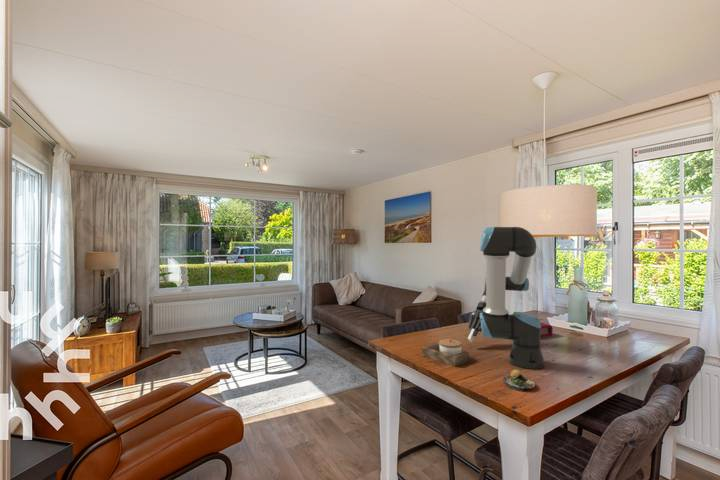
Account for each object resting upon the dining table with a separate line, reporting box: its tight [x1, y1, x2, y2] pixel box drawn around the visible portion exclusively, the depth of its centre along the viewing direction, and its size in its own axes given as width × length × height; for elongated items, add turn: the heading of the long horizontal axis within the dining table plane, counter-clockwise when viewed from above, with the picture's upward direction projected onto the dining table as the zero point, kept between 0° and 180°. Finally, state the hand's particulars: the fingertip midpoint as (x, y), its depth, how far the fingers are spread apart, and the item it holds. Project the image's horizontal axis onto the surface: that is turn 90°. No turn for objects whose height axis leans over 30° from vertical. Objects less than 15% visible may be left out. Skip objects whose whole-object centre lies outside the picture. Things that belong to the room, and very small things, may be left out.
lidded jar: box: [438, 338, 462, 356], centre depth 162 cm, size 11×11×9 cm
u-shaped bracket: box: [421, 342, 470, 367], centre depth 162 cm, size 19×12×4 cm, turn 41°
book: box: [540, 322, 554, 338], centre depth 210 cm, size 21×28×8 cm
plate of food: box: [502, 366, 536, 392], centre depth 132 cm, size 12×12×8 cm
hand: (469, 340), depth 177 cm, fingers closed
